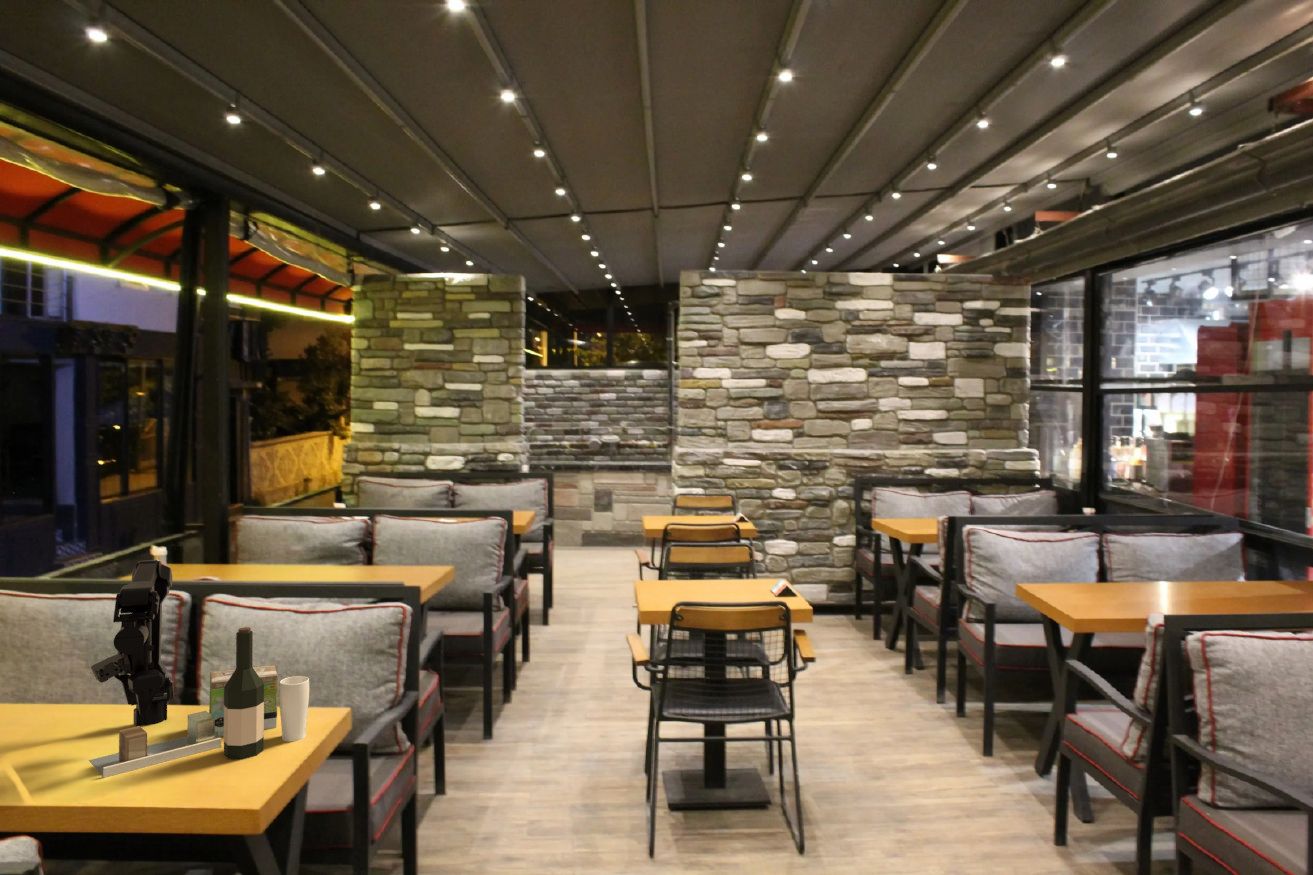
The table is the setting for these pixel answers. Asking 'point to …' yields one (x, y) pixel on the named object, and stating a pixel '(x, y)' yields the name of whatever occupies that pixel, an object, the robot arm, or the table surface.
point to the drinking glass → (294, 707)
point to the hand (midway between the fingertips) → (136, 709)
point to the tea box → (270, 696)
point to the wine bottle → (243, 704)
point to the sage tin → (200, 727)
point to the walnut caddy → (132, 744)
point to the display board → (153, 755)
